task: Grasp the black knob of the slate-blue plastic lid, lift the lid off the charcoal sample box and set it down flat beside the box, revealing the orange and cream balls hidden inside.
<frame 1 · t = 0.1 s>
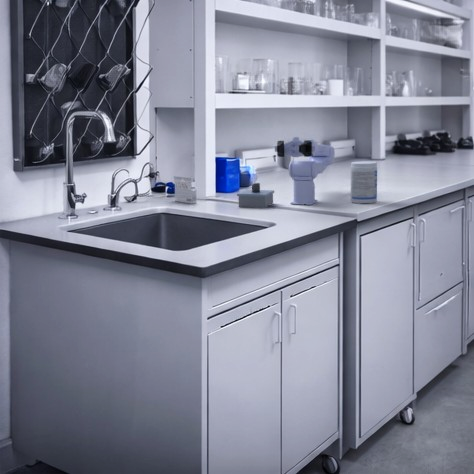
hand: (288, 148, 229), 22 cm above the countertop, tool horizontal, fingers open, 7 cm apart
lid: (255, 194, 249), point 4 cm above the countertop, touching sample box
supplement tub: (363, 202, 251), on the countertop
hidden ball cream: (254, 200, 248), point 2 cm above the countertop, touching sample box
sample box: (256, 205, 250), on the countertop
ink cartridge box: (185, 202, 261), on the countertop
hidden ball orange: (257, 198, 251), point 2 cm above the countertop, touching sample box
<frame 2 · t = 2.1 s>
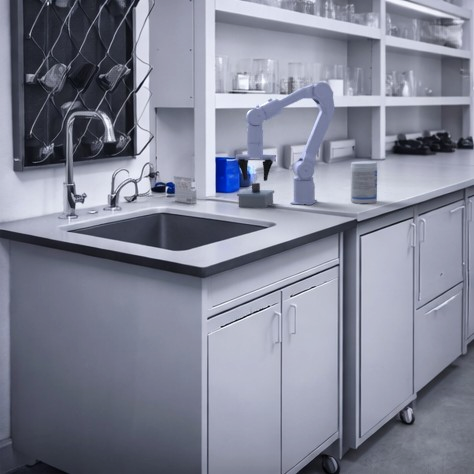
hand: (255, 180, 248), 9 cm above the countertop, tool pointing down, fingers open, 7 cm apart
nothing on the countertop moved.
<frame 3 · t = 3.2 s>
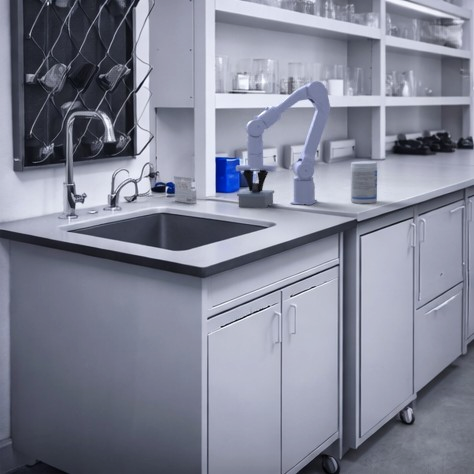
hand: (255, 190, 249), 5 cm above the countertop, tool pointing down, fingers closed on lid, 3 cm apart
lid: (255, 194, 249), point 4 cm above the countertop, touching gripper, sample box
everything else where it was.
when the fingers open (3 cm above the countertop, at t = 7.5 s): lid drops 2 cm, on the countertop.
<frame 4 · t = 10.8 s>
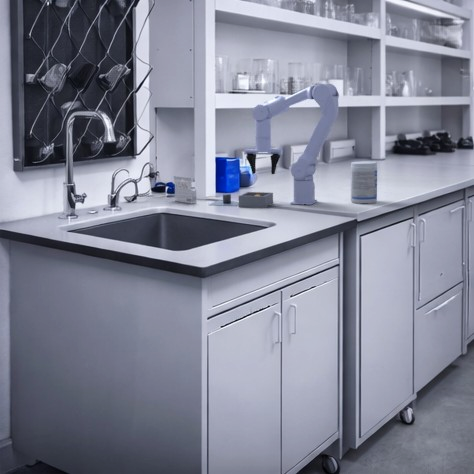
hand: (263, 173, 256), 10 cm above the countertop, tool pointing down, fingers open, 7 cm apart
lid: (227, 205, 255), on the countertop
everything else where it was.
at the end: lid inside the target area (0.0 cm from its centre), on the countertop; lid touching countertop; lid tilted 0° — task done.
